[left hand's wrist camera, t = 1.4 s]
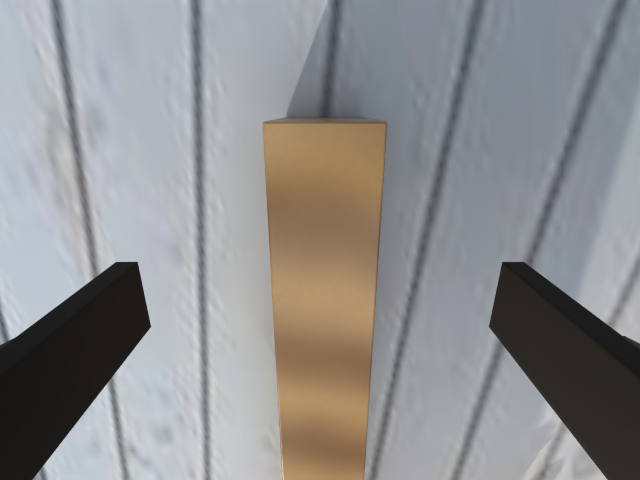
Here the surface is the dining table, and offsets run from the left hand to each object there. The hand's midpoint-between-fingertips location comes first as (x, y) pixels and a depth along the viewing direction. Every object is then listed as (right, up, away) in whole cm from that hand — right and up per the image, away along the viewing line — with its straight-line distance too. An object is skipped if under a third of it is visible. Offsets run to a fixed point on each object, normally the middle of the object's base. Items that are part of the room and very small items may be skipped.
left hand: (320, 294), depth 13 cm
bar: (0, -27, +23) cm, 35 cm away
